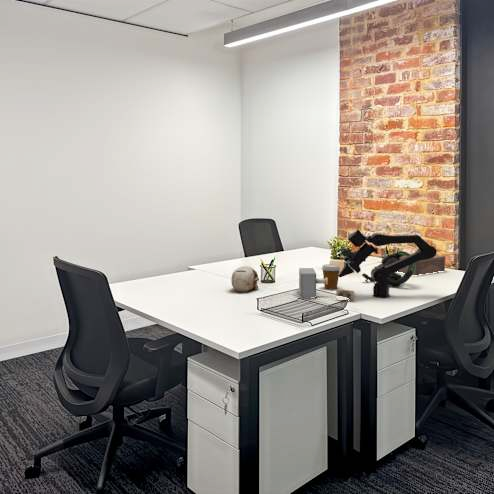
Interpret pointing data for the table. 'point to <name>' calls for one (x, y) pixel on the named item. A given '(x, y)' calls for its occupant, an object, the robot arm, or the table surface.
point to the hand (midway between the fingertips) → (339, 276)
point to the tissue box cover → (427, 265)
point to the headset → (394, 277)
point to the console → (307, 282)
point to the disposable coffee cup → (331, 275)
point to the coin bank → (244, 279)
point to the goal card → (346, 294)
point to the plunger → (322, 281)
